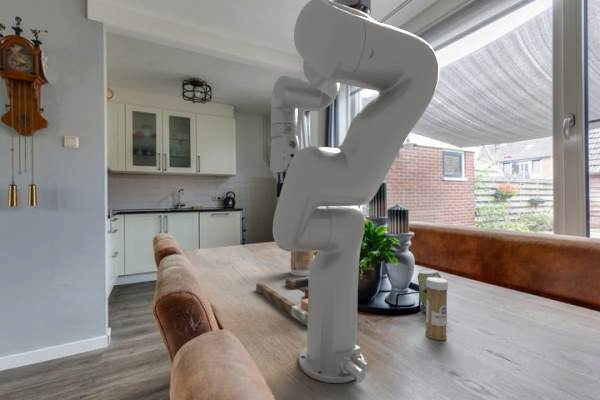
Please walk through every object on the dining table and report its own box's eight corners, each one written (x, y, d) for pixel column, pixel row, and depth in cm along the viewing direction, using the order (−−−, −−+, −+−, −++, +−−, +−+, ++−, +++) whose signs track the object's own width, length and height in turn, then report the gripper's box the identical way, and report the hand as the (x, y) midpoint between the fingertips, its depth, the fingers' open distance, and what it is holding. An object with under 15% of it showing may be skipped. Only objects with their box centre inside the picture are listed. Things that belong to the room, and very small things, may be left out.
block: (331, 317, 76) (331, 302, 76) (314, 322, 73) (314, 307, 73) (318, 310, 81) (318, 296, 81) (300, 314, 78) (301, 300, 78)
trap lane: (369, 310, 81) (369, 299, 81) (307, 327, 69) (307, 315, 69) (308, 281, 108) (308, 273, 108) (256, 290, 97) (256, 281, 97)
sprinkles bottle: (440, 343, 63) (441, 283, 63) (421, 335, 66) (422, 278, 66) (450, 337, 65) (451, 279, 65) (431, 329, 69) (432, 275, 69)
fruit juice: (285, 273, 120) (286, 207, 119) (301, 269, 126) (302, 207, 126) (301, 277, 113) (302, 208, 113) (317, 273, 119) (318, 208, 119)
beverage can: (448, 318, 76) (449, 274, 76) (419, 315, 78) (420, 272, 77) (441, 309, 82) (442, 268, 82) (414, 307, 84) (415, 267, 84)
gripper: (309, 129, 76) (308, 197, 76) (282, 139, 88) (282, 197, 88) (285, 125, 72) (284, 197, 72) (261, 136, 84) (260, 197, 84)
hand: (282, 197), depth 80 cm, fingers closed
